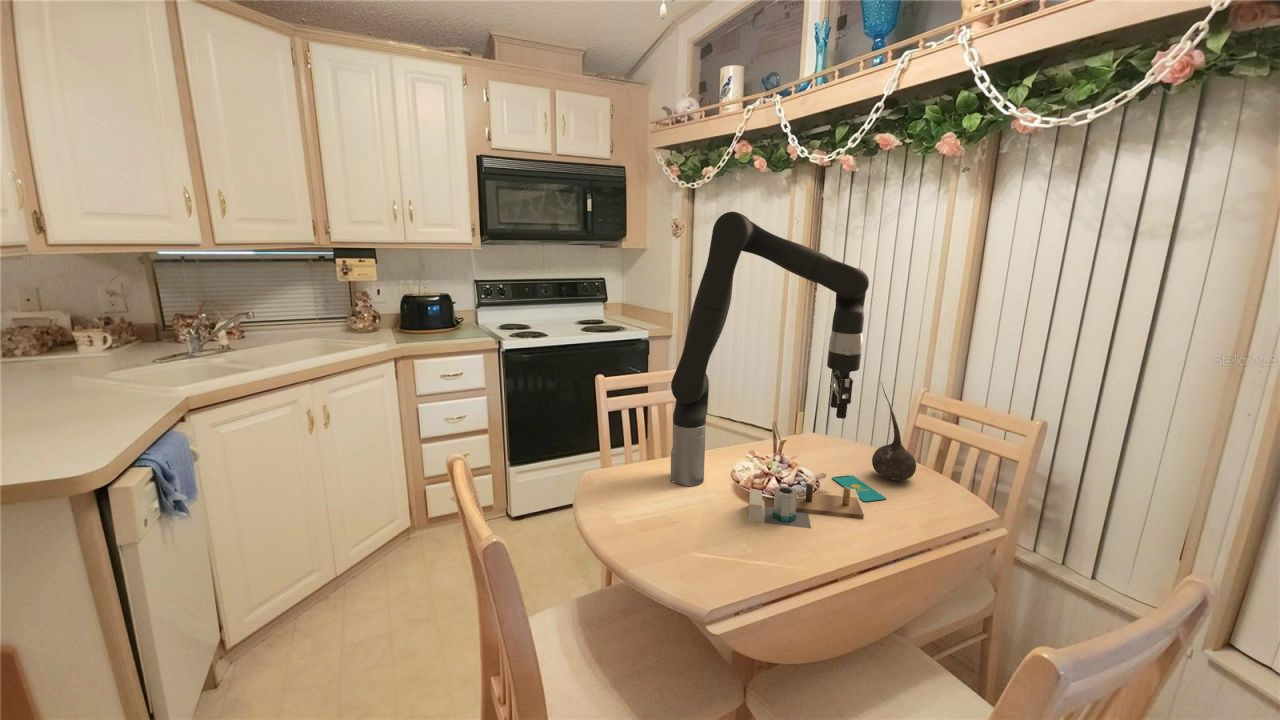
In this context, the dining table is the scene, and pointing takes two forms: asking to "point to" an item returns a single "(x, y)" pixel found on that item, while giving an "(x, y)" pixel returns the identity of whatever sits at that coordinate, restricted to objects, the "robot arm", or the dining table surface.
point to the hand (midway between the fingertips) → (837, 412)
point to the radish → (894, 457)
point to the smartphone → (859, 488)
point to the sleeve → (785, 504)
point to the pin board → (830, 504)
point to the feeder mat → (771, 512)
